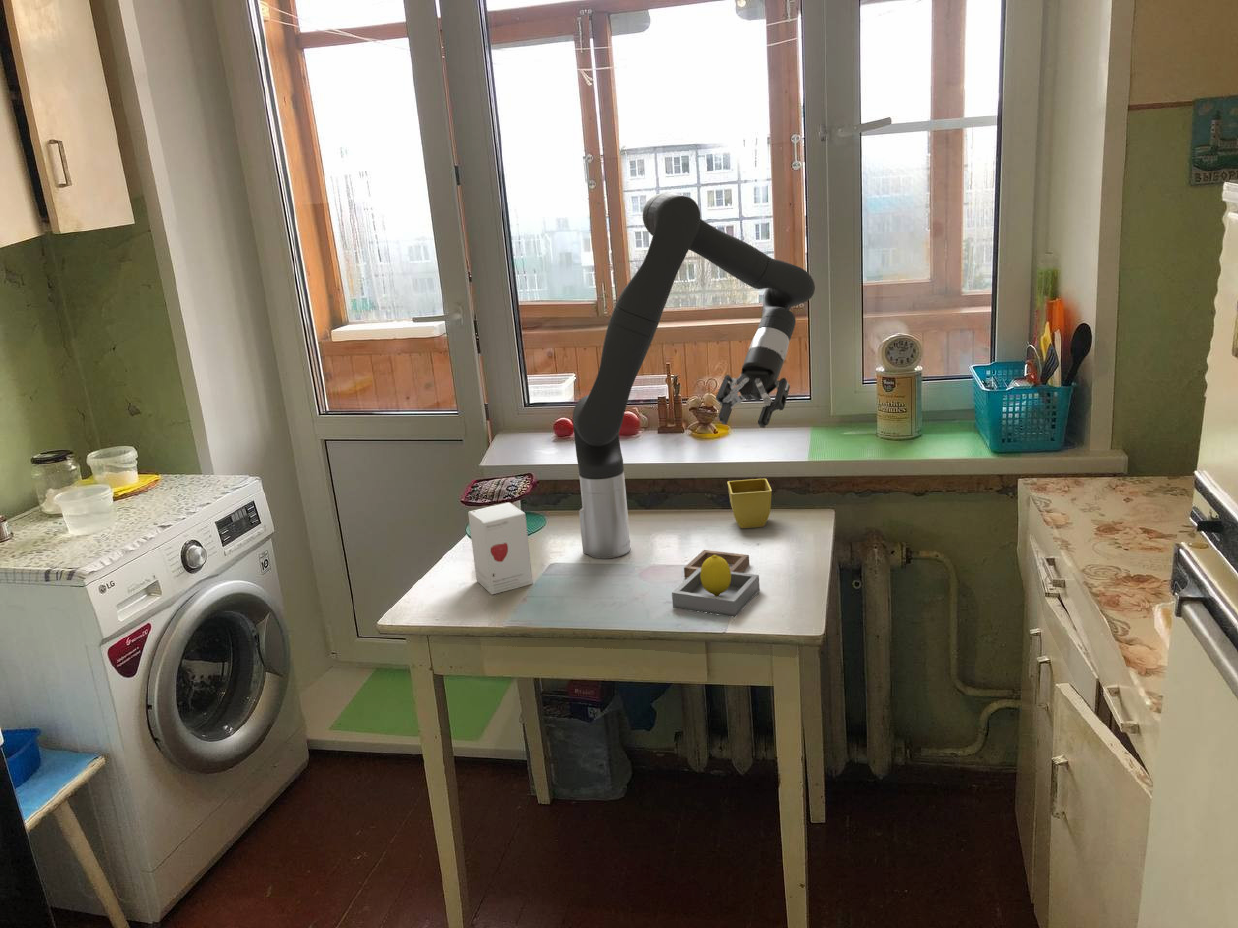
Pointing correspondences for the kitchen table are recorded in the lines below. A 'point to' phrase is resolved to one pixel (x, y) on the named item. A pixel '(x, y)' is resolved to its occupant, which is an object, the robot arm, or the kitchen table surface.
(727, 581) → the lemon
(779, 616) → the kitchen table surface
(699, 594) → the charcoal tray
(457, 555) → the kitchen table surface
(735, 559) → the wooden square frame
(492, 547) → the supplement box
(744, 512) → the flower pot
